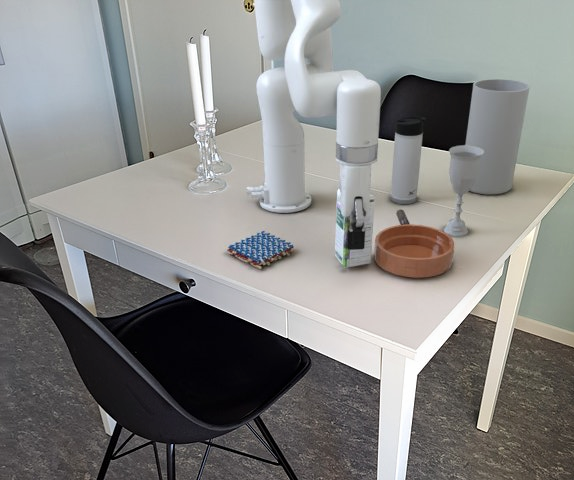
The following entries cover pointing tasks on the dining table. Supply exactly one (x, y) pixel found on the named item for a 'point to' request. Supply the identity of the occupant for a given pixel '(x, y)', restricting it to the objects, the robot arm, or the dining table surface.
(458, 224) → the chalice
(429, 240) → the pan
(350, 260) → the syrup box
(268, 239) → the woven mat
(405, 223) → the pan handle
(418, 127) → the travel mug
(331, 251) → the dining table surface
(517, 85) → the cylinder vase
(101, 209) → the dining table surface
